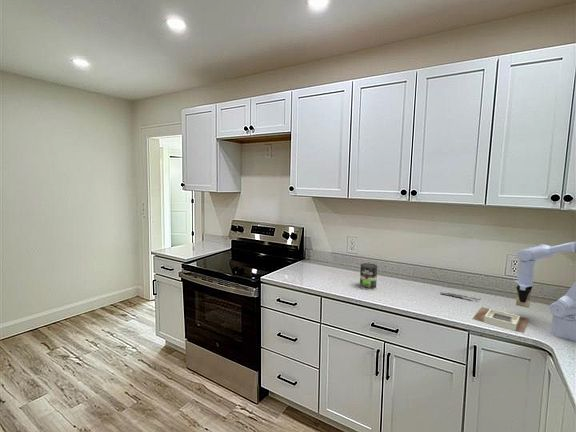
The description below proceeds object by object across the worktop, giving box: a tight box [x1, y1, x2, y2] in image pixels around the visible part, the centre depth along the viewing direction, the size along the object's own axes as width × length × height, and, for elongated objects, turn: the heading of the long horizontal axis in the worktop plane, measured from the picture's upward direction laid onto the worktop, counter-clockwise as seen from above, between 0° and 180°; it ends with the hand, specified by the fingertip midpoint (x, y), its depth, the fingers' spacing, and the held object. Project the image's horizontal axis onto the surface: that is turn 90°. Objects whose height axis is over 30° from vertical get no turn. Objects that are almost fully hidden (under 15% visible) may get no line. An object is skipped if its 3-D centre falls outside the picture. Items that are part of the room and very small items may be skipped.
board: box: [471, 306, 530, 334], centre depth 149 cm, size 20×20×1 cm
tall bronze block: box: [515, 290, 532, 309], centre depth 149 cm, size 2×5×8 cm, turn 47°
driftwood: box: [439, 291, 482, 303], centre depth 179 cm, size 21×7×2 cm, turn 52°
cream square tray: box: [483, 308, 521, 332], centre depth 145 cm, size 12×12×3 cm
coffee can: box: [359, 262, 378, 291], centre depth 193 cm, size 10×10×14 cm
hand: (523, 301), depth 149 cm, fingers closed on tall bronze block, 2 cm apart
